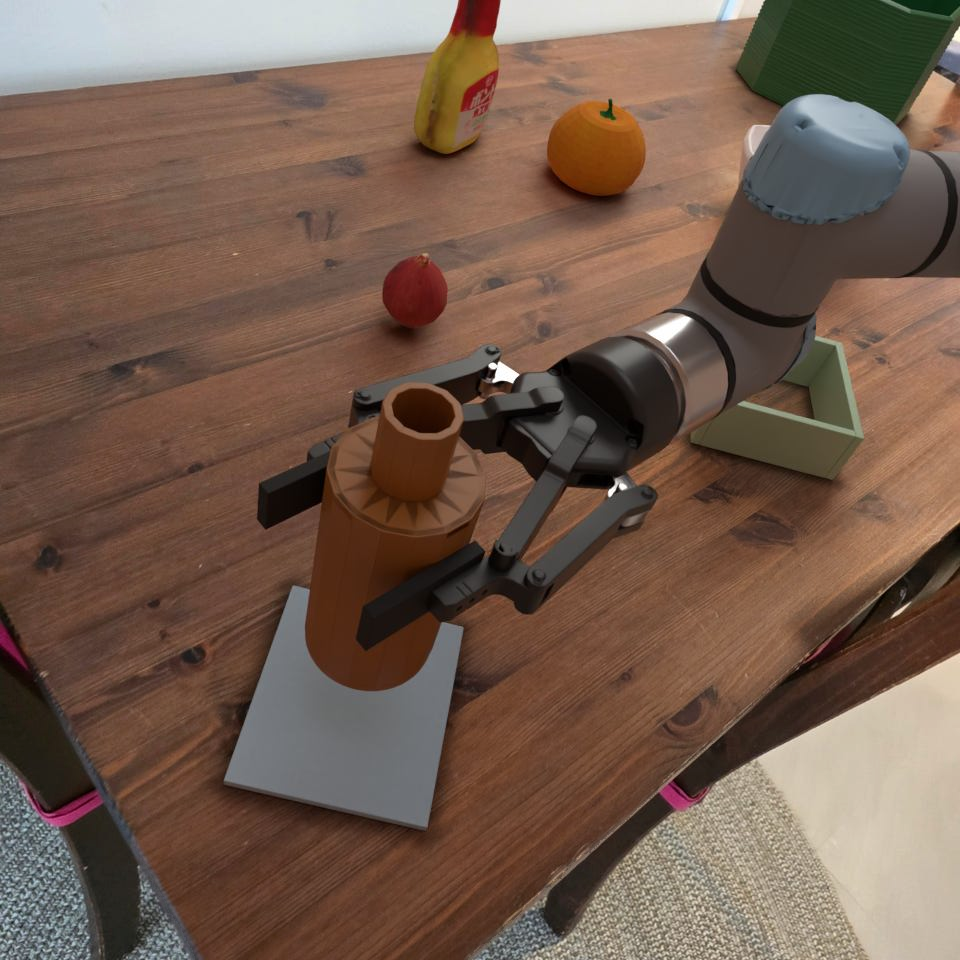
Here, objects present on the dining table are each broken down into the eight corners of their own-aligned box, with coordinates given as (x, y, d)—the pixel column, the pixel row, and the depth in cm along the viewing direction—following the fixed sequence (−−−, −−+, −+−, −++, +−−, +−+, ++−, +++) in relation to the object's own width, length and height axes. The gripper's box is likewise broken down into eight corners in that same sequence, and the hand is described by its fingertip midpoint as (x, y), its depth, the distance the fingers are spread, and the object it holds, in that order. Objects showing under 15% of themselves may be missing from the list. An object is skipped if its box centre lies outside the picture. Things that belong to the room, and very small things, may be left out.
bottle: (461, 117, 111) (498, -57, 96) (500, 141, 109) (544, -33, 94) (397, 141, 103) (427, -44, 89) (438, 167, 102) (475, -17, 87)
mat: (425, 831, 52) (427, 827, 51) (223, 784, 51) (223, 780, 50) (462, 631, 61) (464, 626, 61) (292, 589, 60) (292, 584, 60)
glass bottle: (457, 648, 51) (540, 433, 38) (355, 716, 47) (410, 501, 34) (381, 562, 54) (434, 333, 41) (279, 619, 50) (302, 385, 37)
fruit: (543, 197, 102) (568, 115, 95) (536, 146, 110) (558, 66, 103) (639, 215, 105) (671, 136, 97) (625, 164, 112) (653, 87, 105)
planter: (778, 41, 155) (830, -74, 142) (915, 105, 149) (983, -8, 136) (722, 76, 139) (775, -50, 126) (874, 151, 132) (946, 26, 119)
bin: (832, 480, 80) (864, 439, 76) (690, 442, 80) (715, 399, 76) (814, 384, 90) (842, 342, 86) (687, 349, 89) (709, 306, 85)
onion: (366, 328, 80) (377, 255, 74) (394, 297, 84) (407, 225, 78) (423, 355, 80) (439, 282, 74) (449, 322, 83) (466, 251, 78)
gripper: (734, 547, 52) (437, 774, 39) (505, 342, 59) (194, 474, 46) (795, 461, 46) (474, 693, 33) (535, 248, 54) (192, 368, 41)
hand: (311, 565), depth 40 cm, fingers closed on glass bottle, 7 cm apart
